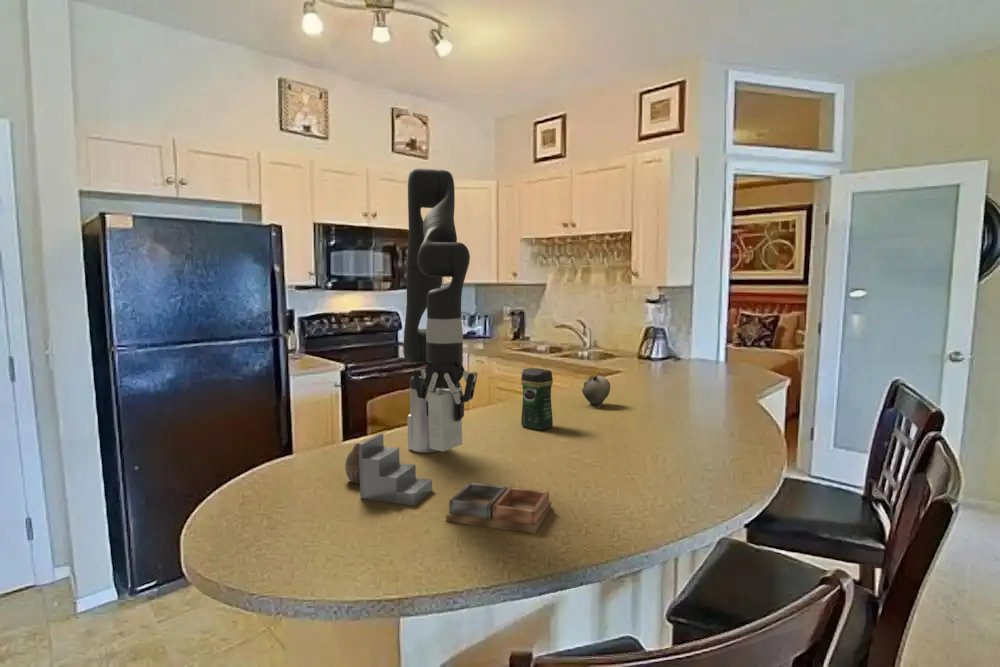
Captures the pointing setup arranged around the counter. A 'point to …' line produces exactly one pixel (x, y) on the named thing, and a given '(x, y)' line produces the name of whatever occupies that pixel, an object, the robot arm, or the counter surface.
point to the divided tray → (499, 507)
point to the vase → (353, 465)
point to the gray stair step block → (388, 475)
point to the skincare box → (443, 421)
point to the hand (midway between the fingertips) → (445, 419)
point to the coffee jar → (536, 399)
